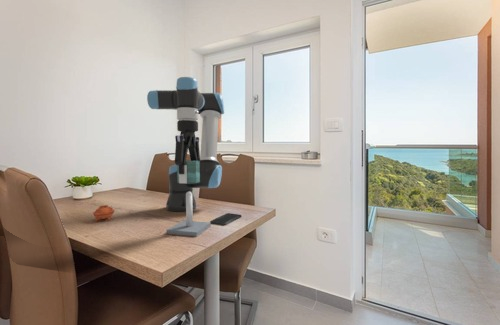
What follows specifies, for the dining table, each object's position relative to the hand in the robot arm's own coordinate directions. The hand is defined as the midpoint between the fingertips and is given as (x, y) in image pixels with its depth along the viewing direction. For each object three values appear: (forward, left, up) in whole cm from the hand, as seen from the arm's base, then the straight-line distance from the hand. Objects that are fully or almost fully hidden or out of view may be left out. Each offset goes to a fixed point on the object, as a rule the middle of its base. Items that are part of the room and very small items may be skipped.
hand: (188, 181), depth 93 cm
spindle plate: (0, 0, -19) cm, 19 cm away
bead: (0, 0, 0) cm, 0 cm away
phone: (-16, +9, -19) cm, 27 cm away
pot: (-3, -43, -19) cm, 47 cm away
